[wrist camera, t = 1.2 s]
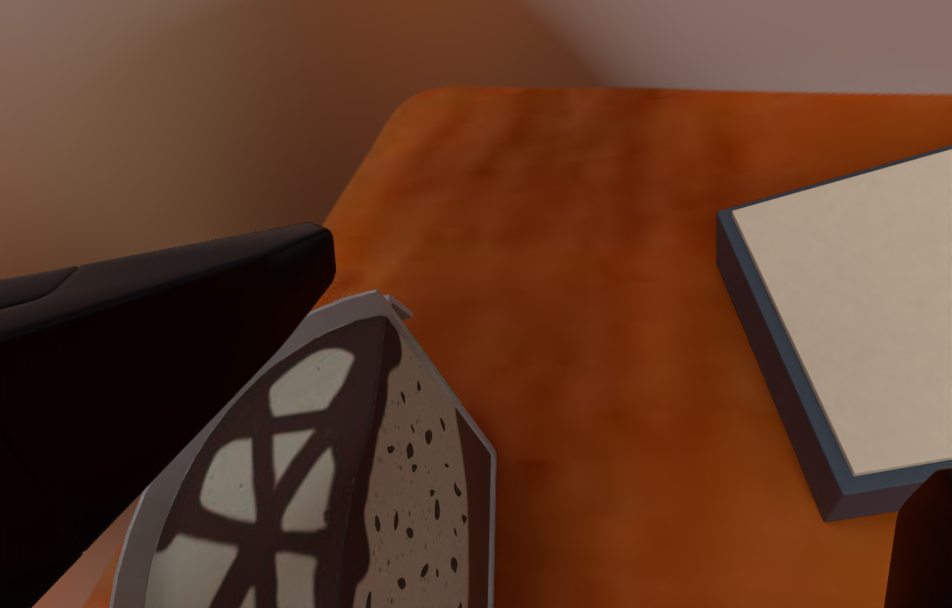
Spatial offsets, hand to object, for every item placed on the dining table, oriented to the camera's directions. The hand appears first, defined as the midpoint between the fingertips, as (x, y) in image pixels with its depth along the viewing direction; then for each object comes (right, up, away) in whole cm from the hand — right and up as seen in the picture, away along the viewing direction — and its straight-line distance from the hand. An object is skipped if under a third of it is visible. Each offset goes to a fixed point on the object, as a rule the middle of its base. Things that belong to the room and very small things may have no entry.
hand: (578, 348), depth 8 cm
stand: (+14, 0, +10) cm, 17 cm away
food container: (-4, -9, +12) cm, 16 cm away
